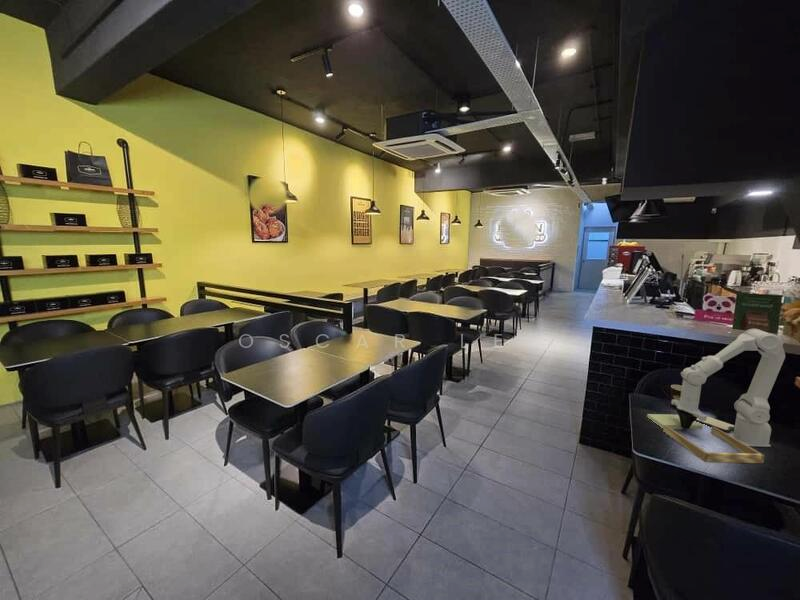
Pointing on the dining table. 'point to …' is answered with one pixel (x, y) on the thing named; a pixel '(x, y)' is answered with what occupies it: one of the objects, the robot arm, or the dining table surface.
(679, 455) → the dining table surface
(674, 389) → the coffee mug
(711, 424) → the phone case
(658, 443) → the dining table surface
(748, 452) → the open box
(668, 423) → the cover plate
